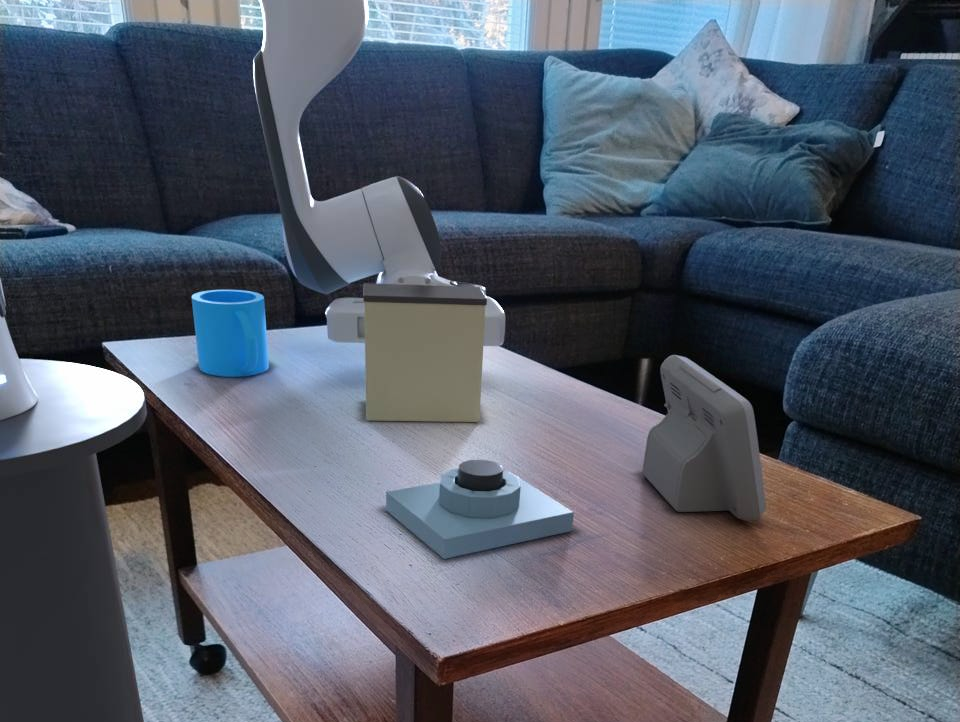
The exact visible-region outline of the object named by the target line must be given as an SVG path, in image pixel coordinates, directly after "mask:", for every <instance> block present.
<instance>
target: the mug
mask: <svg viewBox="0 0 960 722" xmlns="http://www.w3.org/2000/svg"><path fill="white" fill-rule="evenodd" d="M191 304H192V315H193V323H194V332H195V333H194V334H195V340H196V349H197V359H198V368H199V370H200V371H201V372H202V373H204V374H208V375H211V376H217V377H227V378H229V377H230V378H237V377H238V378H240V377H250V376H256V375H260V374H262V373H265V372H267V371H268V370H269V368H270V365H269V364H270V362H269V347H268V336H267V335H268V333H267V322H266V321H267V320H266V307H265V306H266V303H265V297H264V295H263V294H261V293H259V292H255V291H249V290H242V289H212V290H211V289H210V290H203V291H199V292H196V293H193V294H192V295H191Z"/></svg>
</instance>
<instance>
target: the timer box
mask: <svg viewBox="0 0 960 722" xmlns="http://www.w3.org/2000/svg"><path fill="white" fill-rule="evenodd" d="M385 504H386V505H385V511H386V512H387V513H388V514H389V515H391V516H392V517H393V518H394V519H396V520H397V521H398V522H399V523H401V524H402V525H403V526H404V527H405V528H406V529H407V530H408V531H410V532H411V533H412V534H414V535H415V536H416V537H417V538H418V539H419V540H420V541H422V542H423V543H424V544H425V545H426V546H428V547H429V548H430V549H431V550H432V551H434V552H435V553H436V554H437V555H438V556H440V557H441V558H442V559H443V560H447V559H450V558H451V559H452V558H456V557H459V556H460V557H461V556H464V555H469V554H474V553H479V552H482V551H488V550H491V549H497V548H501V547H507V546H510V545H515V544H519V543H524V542H529V541H534V540H538V539H542V538H546V537H552V536H557V535H560V534H565V533H569V532H572V530H573V523H574V513H575V512H574V511H572V510H571V509H569V508H568V507H566V506H564V505H563V504H561V503H560V502H558V501H557V500H556V499H553V498H552V497H550V496H549V495H547V494H545V493H544V492H542V491H541V490H539V489H538V488H537V487H535V486H532V484H530V483H528V482H527V481H525V480H523V479H522V478H520V477H519V476H517V475H515V474H514V473H513V472H511V471H510V470H503V480H502V488H501V489H499V490H493V491H472V490H468V489H464V488H461V487H459V486H458V467H457V468H451V469H450V470H447V471H445V472H444V473H442V474H440V475H439V482H435V483H429V484H422V485H417V486H410V487H405V488H400V489H395V490H394V489H393V490H388V491H386V492H385Z"/></svg>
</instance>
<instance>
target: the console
mask: <svg viewBox="0 0 960 722" xmlns="http://www.w3.org/2000/svg"><path fill="white" fill-rule="evenodd" d="M362 293H363V294H362V296H363V297H362V298H363V300H364V312H365V343H364V366H365V367H364V370H365V377H364V378H365V419H366V420H365V421H369V422H370V421H371V422H372V421H373V422H440V423H441V422H445V423H448V422H450V423H480V419H481V416H480V415H481V401H482V400H481V399H482V397H481V396H482V378H483V361H484V359H483V358H484V346H483V343H484V324H485V305H487V299H486V297H485V295H484V294H483V292H482V290H481V288H480V287H465V286H435V285H404V284H376V283H373V282H371V283H370V282H369V283H367V282H363V283H362Z"/></svg>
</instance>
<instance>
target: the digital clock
mask: <svg viewBox="0 0 960 722" xmlns="http://www.w3.org/2000/svg"><path fill="white" fill-rule="evenodd" d="M660 378H661V383H662V384H661V385H662V388H663V393H664V399H665V403H664V404H663V406H664V407H665V408H666V409H667V413H666V415H664V417H663V418H662V419H661V421H660V422H659V423H657V424H655V425H653V427H651V428H650V430H649V431H648V434H647V438H646V444H645V451H644V457H643V465H642V470H641V473H642V475H643V476H644V477H645V478H646V480H647V481H649V483H650V484H651V485H652V486H653V487H654V488H655V490H656V491H657V492H658V493H659V494H660V495H661V496H662V497H663V498H664V499H665V500H666V502H667V503H668V504H669V505H670V506H671V507H672V508H673V509H674V510H675V511H676V512H678V513H679V512H680V513H687V512H688V513H693V512H697V513H698V512H725V511H726V512H730V513H731V514H732V515H733V516H734V517H735V518H737V519H738V520H741V521H744V522H757V521H759V520H760V519H761V518H762V517H763V515H764V513H765V511H766V509H767V500H766V491H765V483H764V477H763V469H762V462H761V455H760V447H759V440H758V432H757V425H756V418H755V413H754V408H753V405H752V403H751V402H750V401H749V400H748V399H747V398H745V397H744V396H742V395H741V394H740V393H738V392H737V391H736V390H735V389H733V388H731V387H730V386H729V385H727V384H726V383H724V382H723V381H722V380H720V379H718V378H716V377H715V376H714V375H713V374H711V373H710V372H708V371H707V370H706V369H704V368H703V367H702V366H699V364H697V363H695V361H692V360H691V359H690V358H688V357H686V356H682V355H677V354H671V355H669V356H668V357H667V358H665V359H664V361H663V362H662V363H661V365H660Z"/></svg>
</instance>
